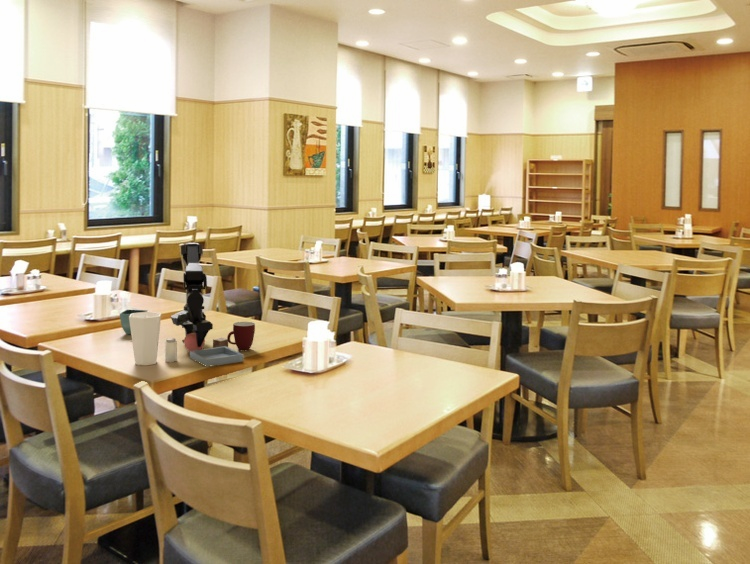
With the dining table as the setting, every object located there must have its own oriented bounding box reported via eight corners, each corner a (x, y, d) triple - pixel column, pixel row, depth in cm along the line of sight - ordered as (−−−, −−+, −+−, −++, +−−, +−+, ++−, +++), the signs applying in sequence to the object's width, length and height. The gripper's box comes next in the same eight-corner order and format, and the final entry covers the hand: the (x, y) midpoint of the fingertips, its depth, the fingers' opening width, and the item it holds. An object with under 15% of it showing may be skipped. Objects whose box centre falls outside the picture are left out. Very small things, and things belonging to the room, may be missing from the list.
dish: (189, 358, 259) (189, 351, 258) (225, 353, 267) (225, 346, 267) (206, 367, 248) (206, 359, 247) (243, 361, 256) (243, 354, 256)
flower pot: (141, 336, 290) (140, 314, 288) (119, 335, 290) (119, 313, 288) (148, 331, 298) (148, 310, 297) (127, 330, 298) (126, 309, 297)
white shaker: (163, 360, 255) (163, 338, 254) (174, 358, 257) (174, 337, 256) (167, 362, 252) (167, 341, 250) (178, 361, 254) (178, 339, 253)
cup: (168, 361, 254) (167, 313, 251) (150, 368, 244) (149, 319, 241) (141, 357, 257) (140, 310, 255) (123, 364, 248) (122, 315, 245)
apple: (187, 355, 262) (186, 334, 261) (182, 350, 269) (182, 329, 267) (207, 353, 266) (207, 332, 264) (202, 349, 272) (202, 328, 271)
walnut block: (213, 349, 272) (213, 339, 271) (221, 347, 275) (221, 337, 275) (220, 351, 270) (220, 341, 269) (228, 349, 273) (228, 339, 272)
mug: (233, 354, 266) (233, 327, 264) (223, 349, 272) (223, 323, 270) (258, 350, 273) (258, 324, 271) (248, 346, 279) (248, 320, 277)
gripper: (163, 301, 267) (164, 342, 269) (183, 309, 252) (184, 352, 255) (191, 298, 273) (192, 338, 276) (213, 306, 259) (213, 348, 261)
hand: (194, 344), depth 267 cm, fingers closed on apple, 7 cm apart
